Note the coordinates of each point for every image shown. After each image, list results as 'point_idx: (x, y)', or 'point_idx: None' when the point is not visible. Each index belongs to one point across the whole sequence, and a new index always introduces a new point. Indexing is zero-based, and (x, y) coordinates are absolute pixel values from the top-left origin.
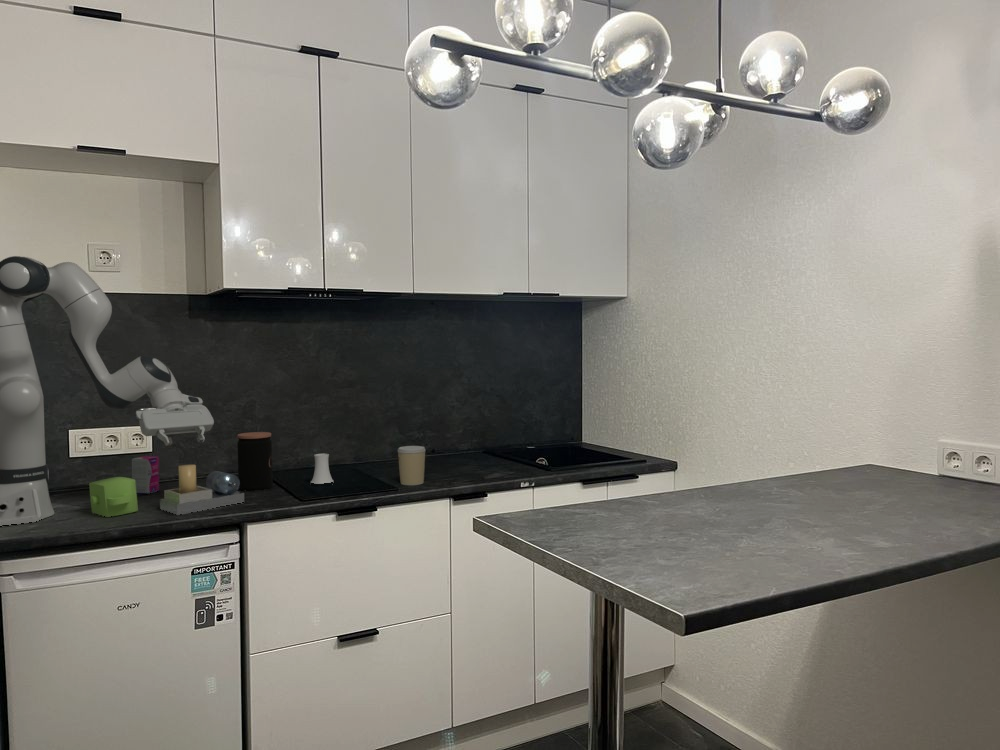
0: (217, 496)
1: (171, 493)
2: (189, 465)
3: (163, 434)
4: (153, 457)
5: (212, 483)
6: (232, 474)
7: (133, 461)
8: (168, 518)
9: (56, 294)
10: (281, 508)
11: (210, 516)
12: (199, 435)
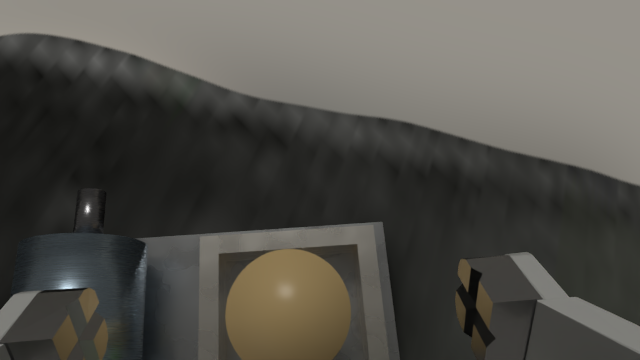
0: (176, 259)
1: (383, 315)
2: (270, 311)
3: (625, 332)
4: None
5: (138, 339)
6: (41, 235)
7: None
8: (417, 208)
9: None
10: (53, 58)
11: (290, 125)
12: (48, 325)
